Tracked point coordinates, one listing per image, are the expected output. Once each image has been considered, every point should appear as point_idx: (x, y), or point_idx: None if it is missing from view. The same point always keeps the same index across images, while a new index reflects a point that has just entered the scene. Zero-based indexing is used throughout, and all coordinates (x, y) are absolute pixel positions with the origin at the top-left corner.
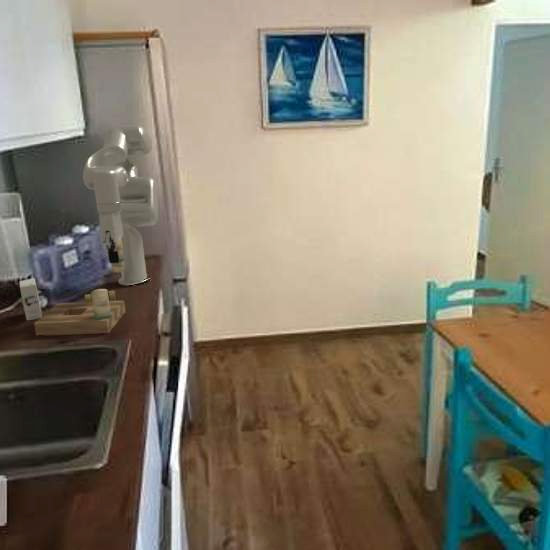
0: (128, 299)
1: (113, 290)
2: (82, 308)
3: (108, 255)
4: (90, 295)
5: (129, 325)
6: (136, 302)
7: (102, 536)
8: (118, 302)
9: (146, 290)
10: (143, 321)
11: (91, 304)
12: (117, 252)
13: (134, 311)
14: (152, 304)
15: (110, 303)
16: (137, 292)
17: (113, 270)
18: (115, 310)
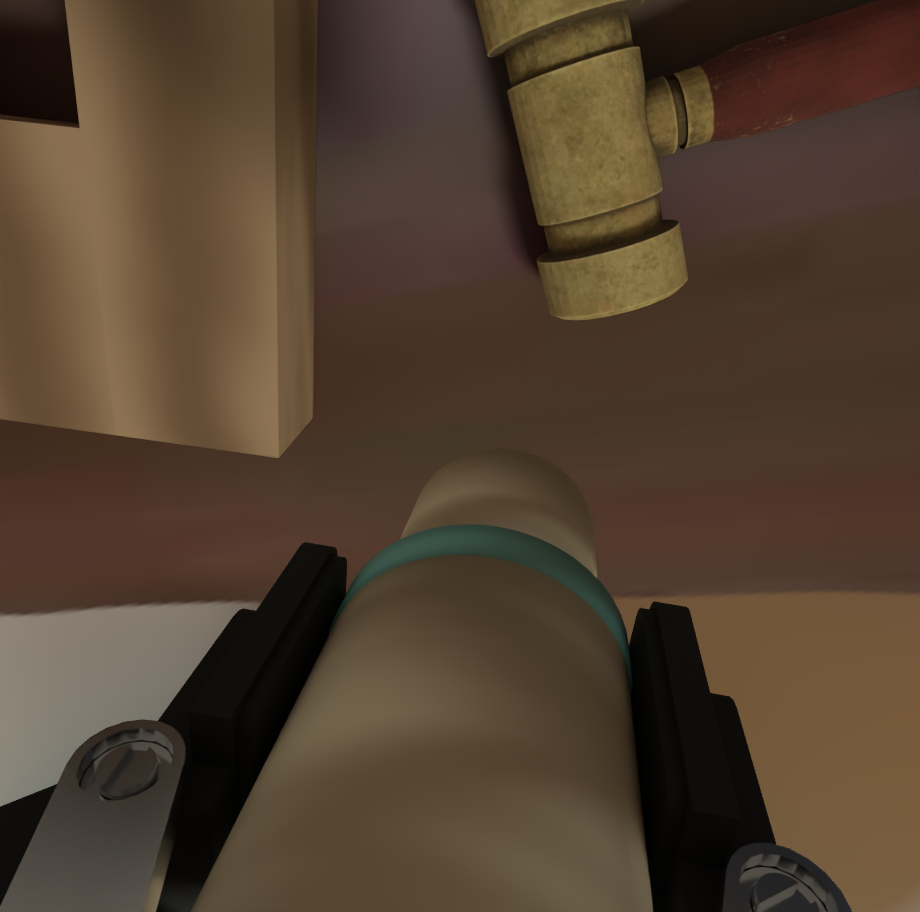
0: (643, 400)
1: (639, 303)
2: (74, 62)
3: (238, 639)
4: (532, 29)
5: (40, 479)
6: None
7: None
8: (230, 417)
9: (866, 530)
10: (112, 558)
11: (187, 142)
12: None
13: (314, 483)
14: None
15: (205, 347)
16: (839, 457)
17: (430, 487)
18: (28, 422)
